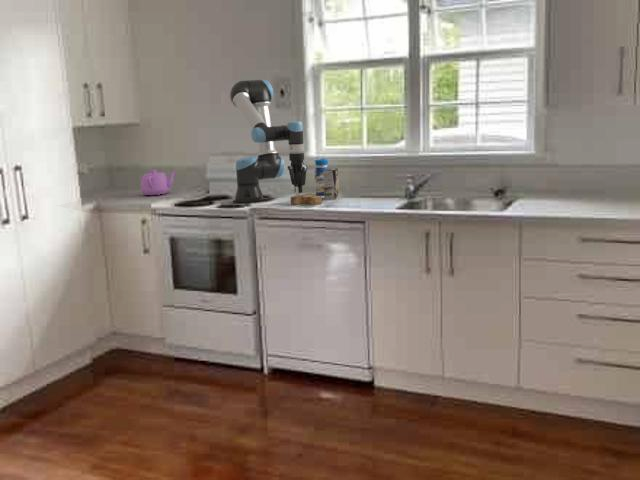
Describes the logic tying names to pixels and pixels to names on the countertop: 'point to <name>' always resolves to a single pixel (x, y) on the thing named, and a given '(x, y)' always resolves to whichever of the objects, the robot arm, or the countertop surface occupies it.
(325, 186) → the coffee box
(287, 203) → the slate board
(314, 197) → the walnut t block
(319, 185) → the beverage bottle
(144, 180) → the teapot
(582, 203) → the countertop surface
